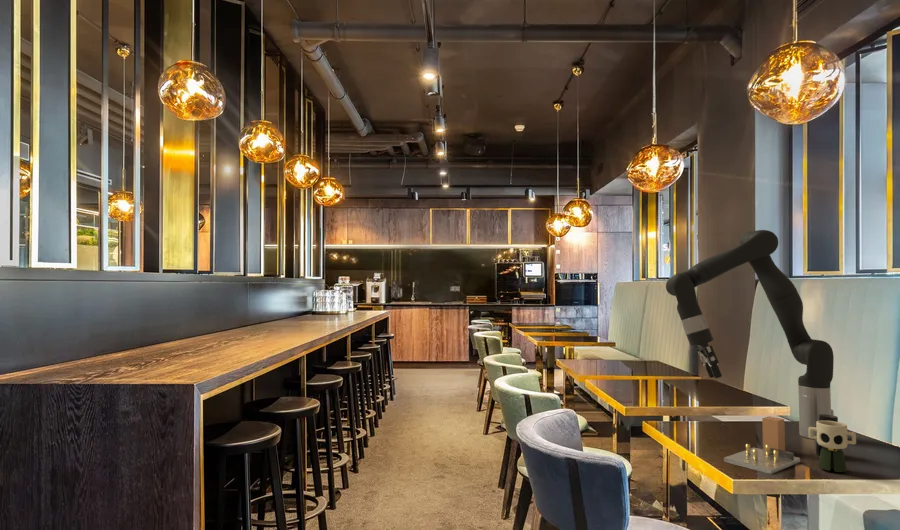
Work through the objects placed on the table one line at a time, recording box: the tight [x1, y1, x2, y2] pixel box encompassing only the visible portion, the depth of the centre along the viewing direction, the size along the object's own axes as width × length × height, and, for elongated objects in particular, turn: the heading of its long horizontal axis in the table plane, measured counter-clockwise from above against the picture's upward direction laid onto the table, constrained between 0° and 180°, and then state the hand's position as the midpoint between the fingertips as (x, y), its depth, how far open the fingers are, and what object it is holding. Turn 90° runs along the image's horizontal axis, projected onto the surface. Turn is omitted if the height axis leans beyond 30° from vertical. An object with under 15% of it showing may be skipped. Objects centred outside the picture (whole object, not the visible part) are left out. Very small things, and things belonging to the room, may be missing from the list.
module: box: [761, 416, 786, 451], centre depth 171 cm, size 4×4×10 cm
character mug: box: [808, 421, 857, 473], centre depth 153 cm, size 11×7×13 cm, turn 54°
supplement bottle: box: [814, 414, 843, 457], centre depth 166 cm, size 7×7×12 cm
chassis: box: [723, 443, 801, 475], centre depth 160 cm, size 18×13×4 cm
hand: (715, 377), depth 181 cm, fingers open, 8 cm apart
